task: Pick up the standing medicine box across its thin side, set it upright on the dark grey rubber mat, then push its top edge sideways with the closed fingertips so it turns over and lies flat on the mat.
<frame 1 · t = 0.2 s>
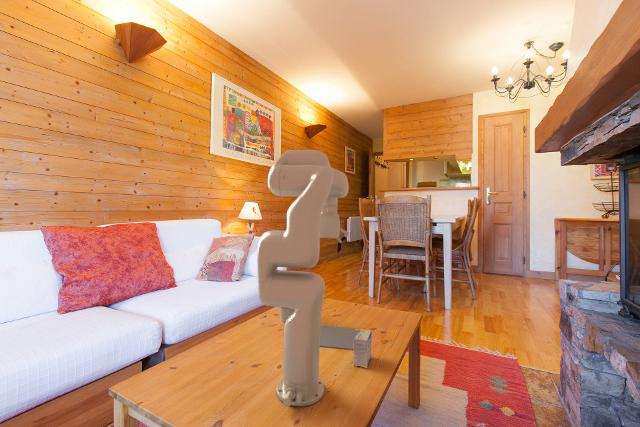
hand: (327, 251, 121), 31 cm above the table, fingers open, 9 cm apart
mat: (330, 336, 112), on the table
medicine box: (362, 362, 94), on the table
house plant: (287, 321, 125), on the table
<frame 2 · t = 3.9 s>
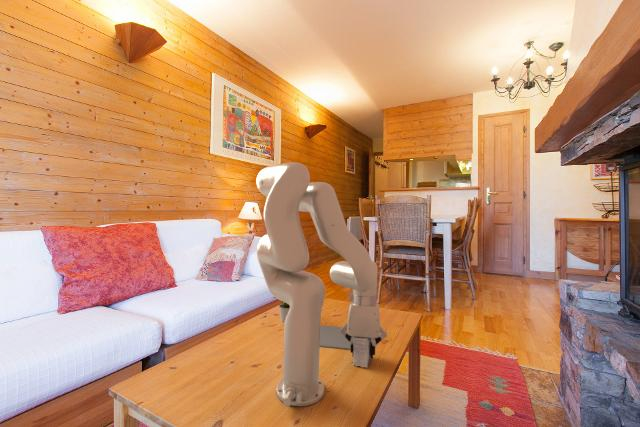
hand: (362, 355, 94), 2 cm above the table, fingers closed on medicine box, 5 cm apart
medicine box: (362, 362, 94), on the table, touching gripper
everything else where it was.
when the fingers open (2 cm above the table, at t = 8.2 s): medicine box stays where it is, resting on mat.
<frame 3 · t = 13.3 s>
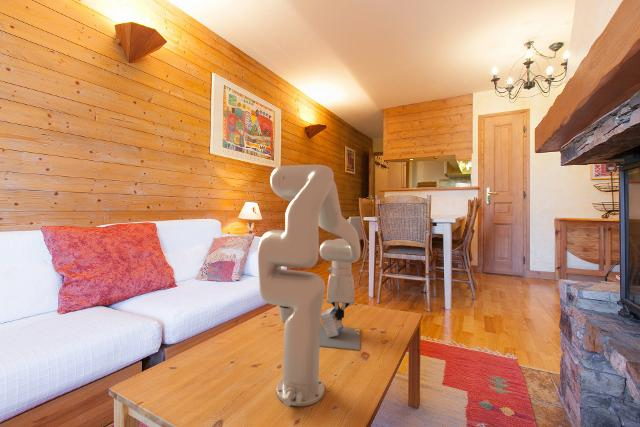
hand: (339, 319, 112), 7 cm above the table, fingers closed
medicine box: (336, 333, 112), point 1 cm above the table, touching gripper, mat
everything else where it was.
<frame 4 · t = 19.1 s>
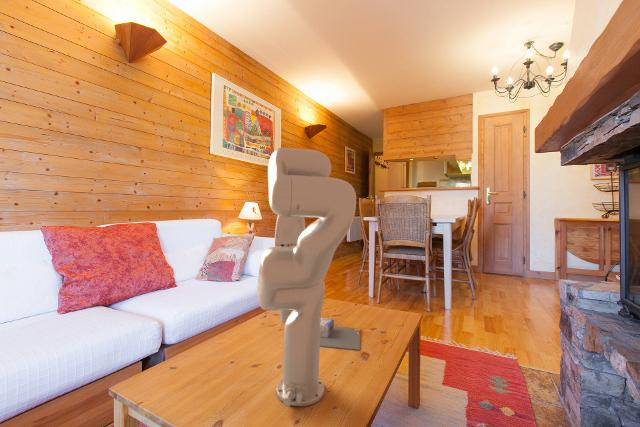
hand: (289, 263, 102), 29 cm above the table, fingers closed
medicine box: (331, 328, 113), point 3 cm above the table, touching mat
everything else where it was.
at the end: medicine box tilted 89°; medicine box inside the target area (1.0 cm from its centre), point 2.6 cm above the table; the gripper is holding nothing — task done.
